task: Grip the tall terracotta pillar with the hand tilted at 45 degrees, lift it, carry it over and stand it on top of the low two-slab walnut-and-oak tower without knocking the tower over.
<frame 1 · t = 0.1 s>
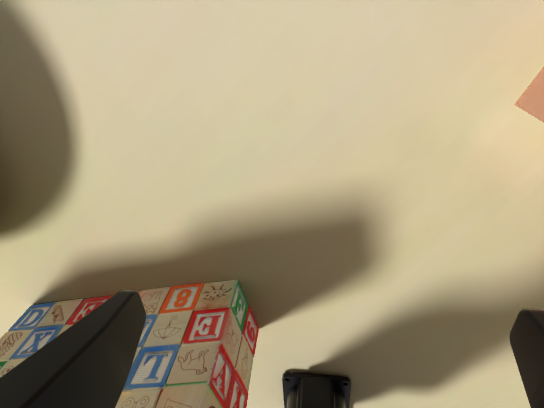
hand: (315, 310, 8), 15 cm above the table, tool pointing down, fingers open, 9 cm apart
stack of blocks: (143, 313, 33), on the table
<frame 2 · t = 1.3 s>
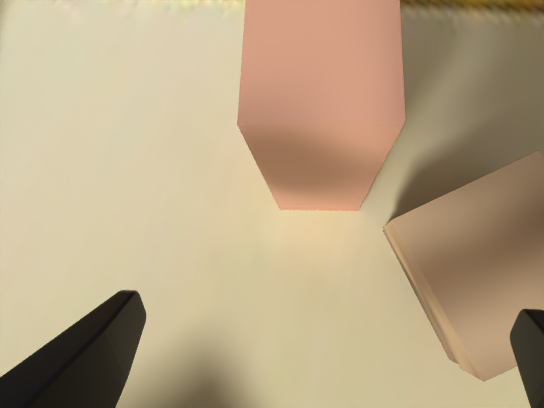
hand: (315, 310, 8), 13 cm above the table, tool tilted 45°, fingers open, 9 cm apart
tower top: (487, 262, 19), point 2 cm above the table
tower base: (473, 265, 21), on the table
pillar: (318, 173, 23), on the table
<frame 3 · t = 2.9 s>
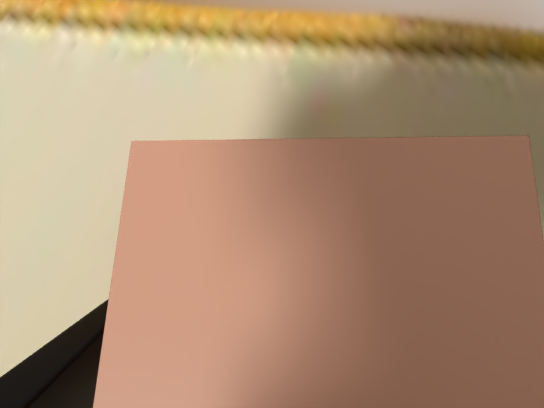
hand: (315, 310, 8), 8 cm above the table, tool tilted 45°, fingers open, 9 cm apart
pillar: (316, 303, 16), on the table
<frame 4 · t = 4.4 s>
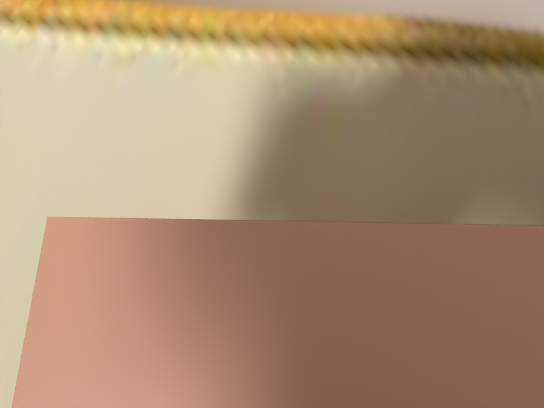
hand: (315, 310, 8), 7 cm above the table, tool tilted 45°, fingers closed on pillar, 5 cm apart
pillar: (316, 335, 14), on the table, touching gripper
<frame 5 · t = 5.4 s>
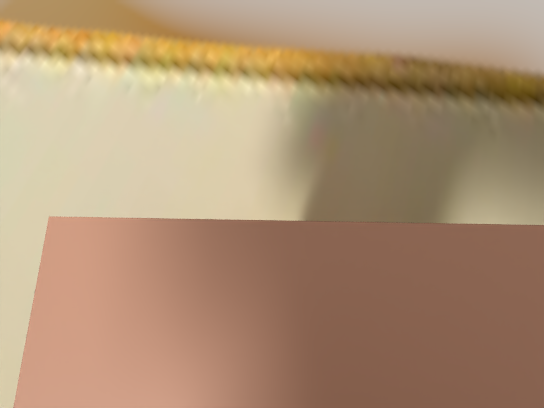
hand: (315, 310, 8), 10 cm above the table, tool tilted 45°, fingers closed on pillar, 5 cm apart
pillar: (316, 334, 15), point 3 cm above the table, touching gripper
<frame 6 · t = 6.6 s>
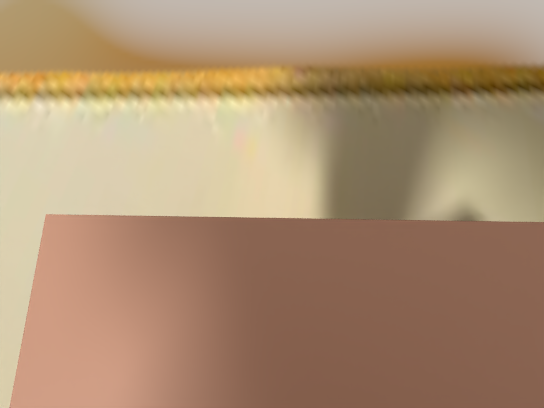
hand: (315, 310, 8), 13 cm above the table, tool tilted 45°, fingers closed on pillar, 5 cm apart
pillar: (315, 334, 15), point 7 cm above the table, touching gripper
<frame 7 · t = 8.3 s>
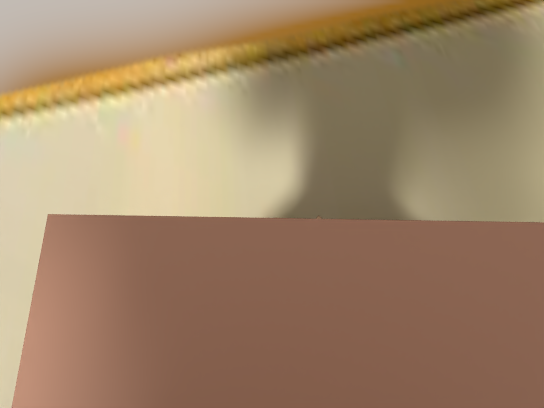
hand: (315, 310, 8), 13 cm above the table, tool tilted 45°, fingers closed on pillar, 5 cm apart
pillar: (316, 334, 15), point 6 cm above the table, touching gripper
when the fingers open (13 cm above the table, at t = 8.7 s): pillar drops 2 cm, resting on tower top.
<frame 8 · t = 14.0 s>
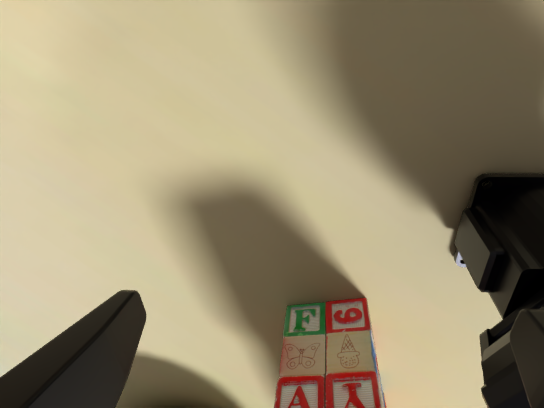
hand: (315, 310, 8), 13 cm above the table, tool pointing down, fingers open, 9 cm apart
stack of blocks: (346, 379, 32), on the table
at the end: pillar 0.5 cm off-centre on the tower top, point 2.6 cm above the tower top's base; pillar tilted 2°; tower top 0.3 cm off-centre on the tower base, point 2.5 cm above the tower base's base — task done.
